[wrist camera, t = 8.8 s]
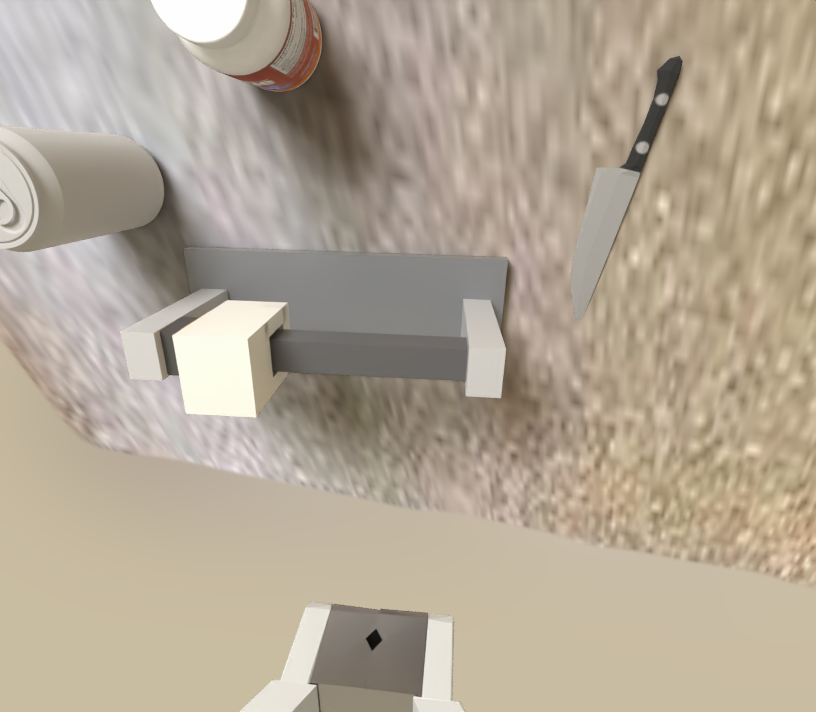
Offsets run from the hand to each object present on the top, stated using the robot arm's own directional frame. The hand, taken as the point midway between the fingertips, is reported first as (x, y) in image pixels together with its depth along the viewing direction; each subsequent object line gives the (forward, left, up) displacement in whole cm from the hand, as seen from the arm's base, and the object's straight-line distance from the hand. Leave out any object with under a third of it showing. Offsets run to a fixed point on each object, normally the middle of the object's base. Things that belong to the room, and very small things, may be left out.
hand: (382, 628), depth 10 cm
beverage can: (+22, -7, -29) cm, 37 cm away
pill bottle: (+10, -16, -29) cm, 35 cm away
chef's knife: (-12, -6, -29) cm, 32 cm away
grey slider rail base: (+6, +2, -29) cm, 30 cm away
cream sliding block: (+11, +2, -22) cm, 25 cm away
